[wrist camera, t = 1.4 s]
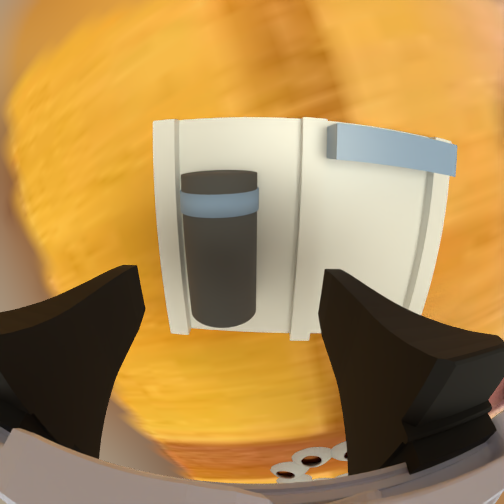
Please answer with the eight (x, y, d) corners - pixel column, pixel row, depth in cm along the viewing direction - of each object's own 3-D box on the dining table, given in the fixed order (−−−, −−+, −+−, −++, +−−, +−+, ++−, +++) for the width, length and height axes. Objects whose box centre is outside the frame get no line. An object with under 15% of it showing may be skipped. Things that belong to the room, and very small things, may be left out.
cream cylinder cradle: (406, 324, 22) (426, 354, 18) (177, 321, 23) (160, 354, 19) (438, 140, 17) (473, 142, 12) (162, 123, 18) (134, 117, 13)
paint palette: (244, 462, 33) (243, 473, 31) (372, 419, 28) (375, 431, 26) (304, 493, 38) (305, 501, 36) (402, 459, 33) (404, 468, 31)
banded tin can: (267, 300, 20) (237, 336, 16) (213, 287, 22) (176, 316, 18) (271, 171, 17) (235, 178, 13) (208, 169, 19) (162, 177, 15)
